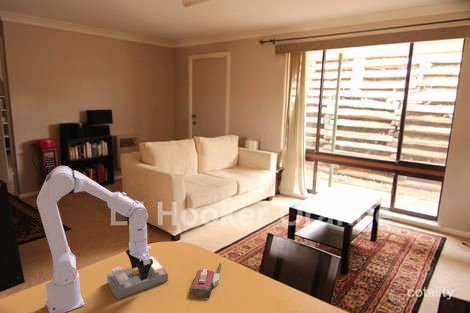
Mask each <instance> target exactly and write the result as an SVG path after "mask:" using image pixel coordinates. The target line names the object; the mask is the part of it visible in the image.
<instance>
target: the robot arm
mask: <svg viewBox="0 0 470 313" xmlns="http://www.w3.org/2000/svg"><path fill="white" fill-rule="evenodd" d="M72 191H73V193H74V194H75V193H79V192H80V193H81V192H86V193H88V194H89V195H92V196H94V197H96V198H99V199H100V200H101V201H104V202H106V203H107V204H106V205H107V207H108V208H109V209H111V210H112V211H114V212H116V213H118V214H119V215H122V216H124V217H127V218H129V226H128V229H129V230H128V231H129V232H128V233H129V242H128V247H129V249H127V250H125V253H126V255H127V257H128V259H129V262H130V265H131V267H132V268H136V267H137V268H138V270H139V275H140V279H141V281H142V280H145V279H147V277H148V273H149V270H150V267H151V265H152V264H153V260H152V259H150V258H149V257H150V254H149V251H150V250H151V249H152V247H151V246H150V245H148V225H147V220H148V219H149V216H150V215H149V214H148V210H147V208H146V207H145V206H144V205H143V204H142V203H141V201H138V200H136V199H135V200H134V199H132V198H131V197H129V196H127V193H126V192H124V191H122V192H120V191H115V192H112V191H110V190H109V189H107V188H106V187H104V186H102V185H100V184H99V183H98V182H96V181H94V180H92V179H91V178H90V177H88V176H87V175H85V174H83V173H81V172H79V171H78V170H75V169H74V170H72V168H71V167H69V166H66V165H59V166H58V165H57V166H56V167H55V168H53V169H52V170H50V172H49V173H48V174H47V175H46V177H45V179H44V182H43V184H42V186H41V189H40V191H39V194H38V195H37V197H36V198H37V199H36V205H37V208H38V212H39V215H40V218H41V222H42V226H43V229H44V232H45V236H46V239H47V243H48V246H49V250H50V254H51V257H52V265H53V274H52V280H51V281H49V282H47V283H45V285H44V288H45V289H44V290H45V296H46V297H45V299H46V302H45V304H46V305H45V306H46V308H47V309H48V310H47V311H48V313H67V312H70V311H73V310H75V309H78V308H80V307H81V308H82V307H83V306H85V300H84V299H83V296H82V294H81V282H80V273H79V272H78V271H77V256H75V254H74V253H72V251H71V249H70V246H69V243H68V241H67V240H68V239H67V236H66V233H65V230H64V226H63V222H62V218H61V214H60V210H59V208H58V202H59V201H60V200H61V198H62V197H64V196H66V195H67V194H69V193H70V192H72Z"/></svg>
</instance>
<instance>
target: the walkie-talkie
mask: <svg viewBox="0 0 470 313" xmlns="http://www.w3.org/2000/svg"><path fill="white" fill-rule="evenodd" d="M221 269H222V263H219V264H218V268H217V271H216V273H215V271H214V270H209V269H208V268H207V269H206V268H202V269H198V270H197V271H196V274H195V276H194V279H193V282H192V284H191V288H190V294H191V296H196V297H197V296H198V297H205V298H209V297H210V296H211V294H212V290H213V288H216V287H217V286H218V285H219V282H220V279H221Z"/></svg>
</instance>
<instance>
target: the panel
mask: <svg viewBox="0 0 470 313" xmlns="http://www.w3.org/2000/svg"><path fill="white" fill-rule="evenodd" d="M123 271H124V272H125V274H126V275H127V276H128V278H129V282H128V283H125V284H122V285H120V284H119V283H118V281H117V279H116V278H115V276H114V275H113V273H112V272H111V273H110V274H107V275H106V283H107V285H108V287H109V288H110V290H111V291H112V293H113V295H114V297H115V299H116V300H117V301H118V300H120V299H123V298H126V297H128V296H132V295H134V294H137V293H139V292H141V291H144V290H147V289H149V288H152V287H154V286H155V287H156V286H157V285H161V284H163V283H166V282H168V281H169V273H168V271H166V270H165V269H164V268H163V270H162V271H159V272H156V273H154V272H153V270H152V269H151V268H150V270H149V273H148V277H147V279H145V280H142V281H141V279H140V275H139V274H136V275H133V274H132V266H131V267H128V268H125V269H123Z"/></svg>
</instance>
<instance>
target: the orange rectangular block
mask: <svg viewBox="0 0 470 313" xmlns="http://www.w3.org/2000/svg"><path fill="white" fill-rule="evenodd" d="M132 274H133V275H136V274H139V270H138V268H137V267H136V268H132Z"/></svg>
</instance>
